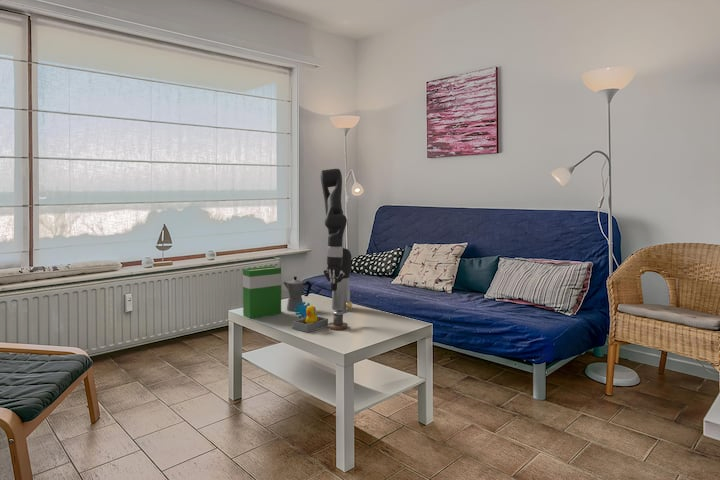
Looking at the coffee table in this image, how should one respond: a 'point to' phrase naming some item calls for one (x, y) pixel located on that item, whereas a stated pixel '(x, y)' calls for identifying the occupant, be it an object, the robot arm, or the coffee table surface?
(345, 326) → the base
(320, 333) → the coffee table surface
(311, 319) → the duckling
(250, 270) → the green box
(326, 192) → the robot arm
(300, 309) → the gear
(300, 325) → the tray
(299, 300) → the coffeepot
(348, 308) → the crank
